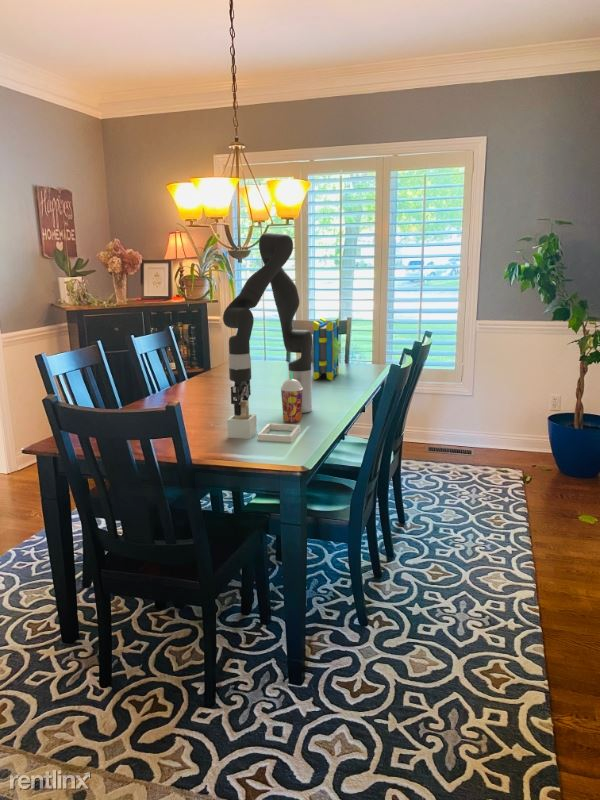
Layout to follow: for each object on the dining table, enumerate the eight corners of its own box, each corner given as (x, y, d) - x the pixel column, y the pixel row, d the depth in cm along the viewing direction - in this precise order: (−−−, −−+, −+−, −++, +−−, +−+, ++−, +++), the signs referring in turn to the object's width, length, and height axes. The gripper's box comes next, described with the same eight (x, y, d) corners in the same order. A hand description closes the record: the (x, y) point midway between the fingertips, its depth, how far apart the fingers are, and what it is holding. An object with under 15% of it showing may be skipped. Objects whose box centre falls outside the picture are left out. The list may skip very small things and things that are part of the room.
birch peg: (238, 432, 209) (237, 400, 206) (249, 433, 208) (248, 400, 205) (235, 436, 205) (233, 402, 202) (246, 436, 204) (245, 403, 202)
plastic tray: (268, 431, 214) (268, 423, 213) (300, 432, 211) (300, 424, 211) (257, 442, 201) (257, 434, 200) (291, 444, 198) (291, 436, 197)
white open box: (235, 433, 212) (234, 413, 210) (256, 434, 210) (256, 414, 208) (228, 440, 204) (227, 419, 202) (250, 441, 202) (249, 420, 201)
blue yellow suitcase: (343, 373, 319) (343, 317, 312) (335, 381, 297) (335, 322, 290) (317, 372, 323) (317, 317, 316) (307, 380, 301) (307, 322, 294)
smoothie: (280, 420, 228) (279, 369, 223) (302, 419, 228) (301, 369, 224) (281, 426, 220) (280, 374, 215) (304, 425, 220) (303, 373, 216)
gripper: (236, 362, 209) (237, 406, 212) (222, 369, 195) (224, 416, 199) (256, 363, 207) (257, 407, 211) (244, 370, 193) (245, 417, 197)
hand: (241, 412), depth 205 cm, fingers open, 8 cm apart
